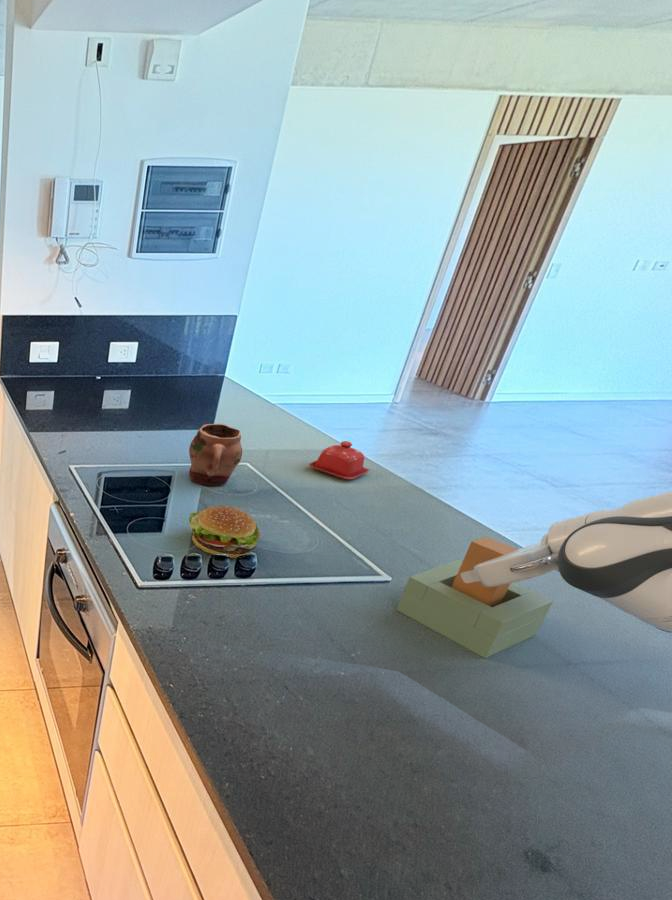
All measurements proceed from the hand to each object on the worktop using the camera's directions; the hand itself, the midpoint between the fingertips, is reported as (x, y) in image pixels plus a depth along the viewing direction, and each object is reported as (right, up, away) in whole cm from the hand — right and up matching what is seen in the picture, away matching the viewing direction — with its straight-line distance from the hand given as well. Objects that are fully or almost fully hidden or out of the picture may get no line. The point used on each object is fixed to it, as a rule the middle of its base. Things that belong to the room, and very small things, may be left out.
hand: (482, 571), depth 101 cm
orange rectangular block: (0, -6, +2) cm, 6 cm away
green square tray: (0, -9, +4) cm, 10 cm away
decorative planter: (-21, +17, +56) cm, 62 cm away
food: (-31, +3, +28) cm, 42 cm away
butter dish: (+15, +20, +62) cm, 67 cm away
